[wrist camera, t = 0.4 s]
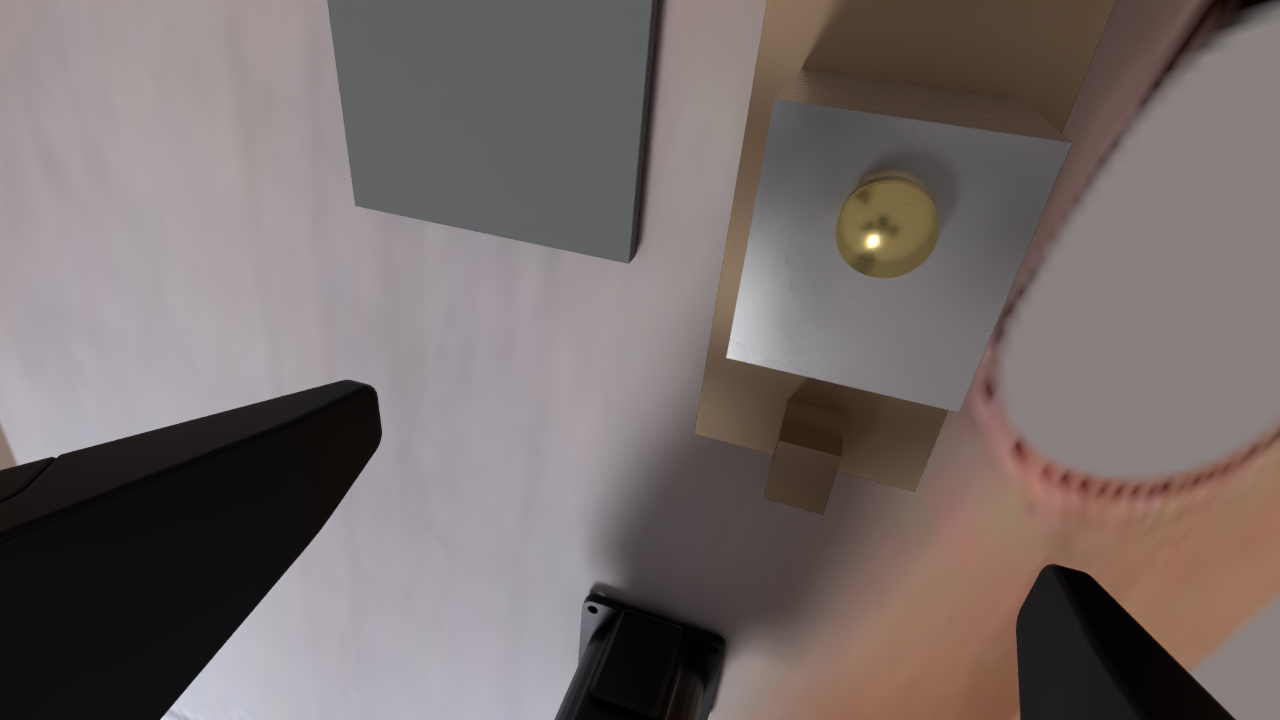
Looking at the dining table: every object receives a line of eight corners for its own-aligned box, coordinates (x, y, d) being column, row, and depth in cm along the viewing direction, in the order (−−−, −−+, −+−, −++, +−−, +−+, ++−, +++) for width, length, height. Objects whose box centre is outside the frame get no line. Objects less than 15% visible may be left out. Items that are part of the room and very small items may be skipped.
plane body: (917, 434, 21) (926, 543, 17) (709, 383, 23) (670, 472, 19) (1194, -280, 13) (1348, -407, 8) (825, -289, 14) (802, -401, 10)
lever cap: (941, 313, 16) (962, 427, 12) (759, 275, 17) (721, 369, 13) (1020, 98, 14) (1080, 150, 10) (801, 68, 15) (770, 103, 11)
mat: (634, 256, 21) (628, 263, 21) (366, 201, 24) (355, 205, 23) (674, -178, 16) (668, -182, 15) (315, -200, 18) (299, -205, 17)
